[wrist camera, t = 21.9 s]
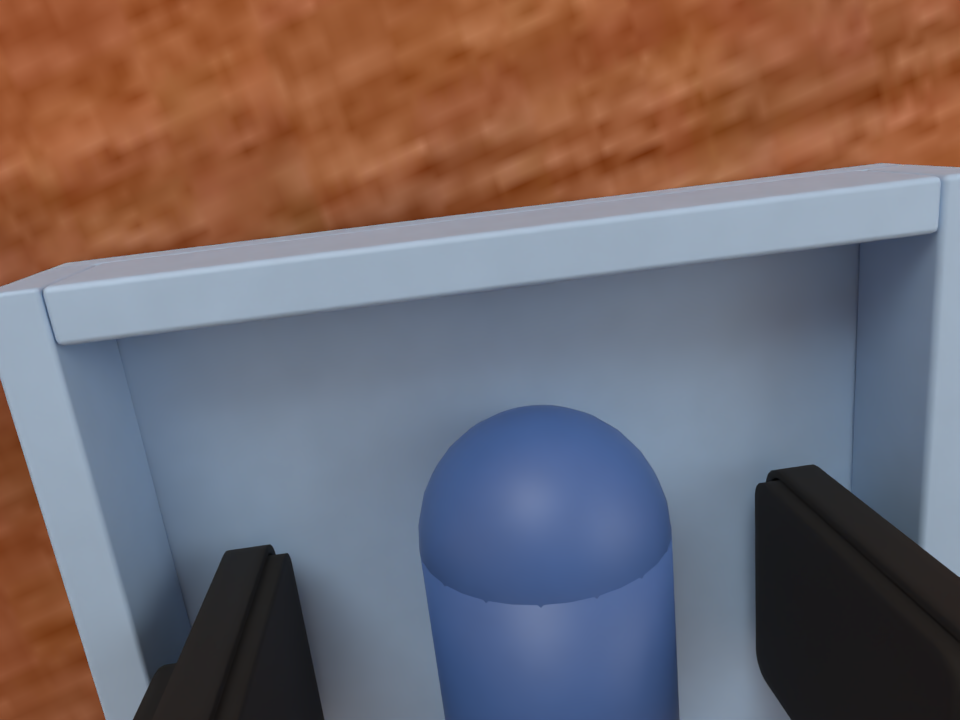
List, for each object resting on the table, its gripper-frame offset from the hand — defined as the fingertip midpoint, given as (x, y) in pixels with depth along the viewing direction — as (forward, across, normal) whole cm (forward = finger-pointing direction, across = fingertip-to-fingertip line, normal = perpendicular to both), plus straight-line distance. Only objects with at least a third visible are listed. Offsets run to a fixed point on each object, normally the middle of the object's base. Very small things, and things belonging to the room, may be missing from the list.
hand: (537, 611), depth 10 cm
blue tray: (+1, 0, +3) cm, 3 cm away
